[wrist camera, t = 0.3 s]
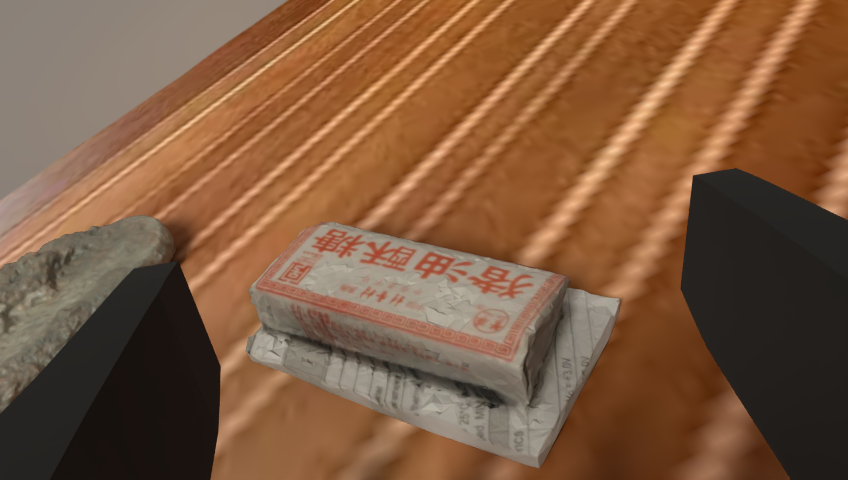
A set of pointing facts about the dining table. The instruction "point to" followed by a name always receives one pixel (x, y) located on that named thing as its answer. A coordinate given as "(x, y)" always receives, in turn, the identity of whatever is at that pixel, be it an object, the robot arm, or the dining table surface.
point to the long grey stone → (67, 291)
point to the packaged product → (432, 335)
